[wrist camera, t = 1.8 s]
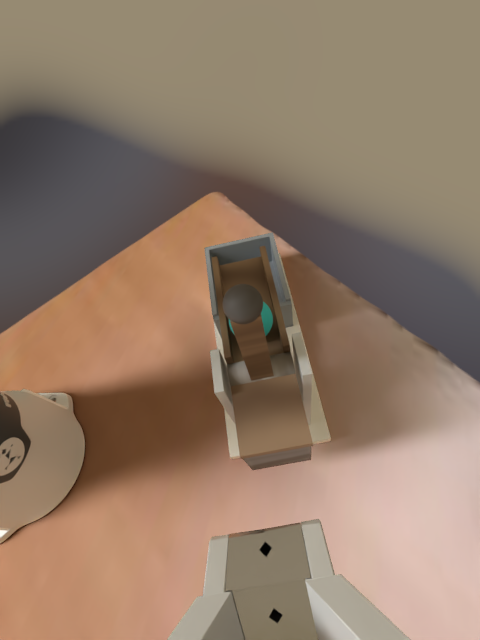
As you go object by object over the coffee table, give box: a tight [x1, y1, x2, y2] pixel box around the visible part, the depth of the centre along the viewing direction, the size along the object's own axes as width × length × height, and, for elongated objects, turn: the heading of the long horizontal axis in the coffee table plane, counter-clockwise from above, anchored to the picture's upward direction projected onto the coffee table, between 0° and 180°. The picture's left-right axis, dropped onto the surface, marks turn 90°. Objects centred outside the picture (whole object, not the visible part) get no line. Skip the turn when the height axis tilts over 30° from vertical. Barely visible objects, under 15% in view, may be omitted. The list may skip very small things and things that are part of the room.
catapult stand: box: [210, 253, 331, 459], centre depth 43 cm, size 30×12×17 cm, turn 9°
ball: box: [229, 302, 273, 336], centre depth 31 cm, size 4×4×4 cm
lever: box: [211, 246, 313, 470], centre depth 31 cm, size 20×6×19 cm, turn 9°
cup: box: [205, 233, 293, 339], centre depth 50 cm, size 13×10×6 cm
